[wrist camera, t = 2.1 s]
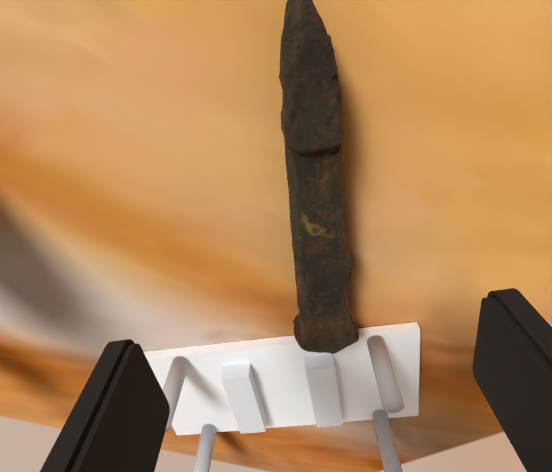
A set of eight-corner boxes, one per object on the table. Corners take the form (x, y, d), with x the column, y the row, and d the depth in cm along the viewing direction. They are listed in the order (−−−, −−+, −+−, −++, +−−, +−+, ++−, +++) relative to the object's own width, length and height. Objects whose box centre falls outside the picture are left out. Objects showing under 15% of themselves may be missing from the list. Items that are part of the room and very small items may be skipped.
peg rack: (416, 322, 25) (448, 394, 20) (415, 406, 30) (441, 483, 25) (143, 351, 28) (110, 424, 23) (179, 426, 32) (159, 501, 27)
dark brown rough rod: (351, 312, 26) (364, 365, 22) (293, 315, 26) (295, 368, 22) (361, -15, 16) (387, -30, 12) (272, -7, 17) (268, -19, 13)
